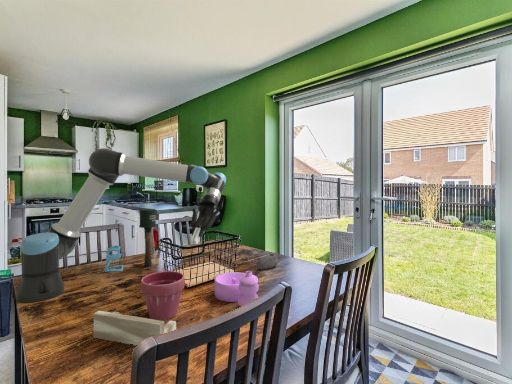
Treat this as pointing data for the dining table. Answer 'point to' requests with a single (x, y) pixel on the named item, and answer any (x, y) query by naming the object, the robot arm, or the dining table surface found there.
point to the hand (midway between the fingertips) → (193, 242)
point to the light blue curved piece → (113, 257)
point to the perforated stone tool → (267, 261)
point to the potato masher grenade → (147, 231)
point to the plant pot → (162, 293)
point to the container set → (236, 287)
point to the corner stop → (128, 327)
